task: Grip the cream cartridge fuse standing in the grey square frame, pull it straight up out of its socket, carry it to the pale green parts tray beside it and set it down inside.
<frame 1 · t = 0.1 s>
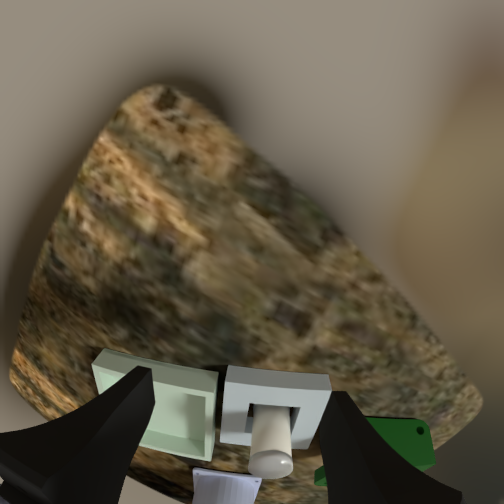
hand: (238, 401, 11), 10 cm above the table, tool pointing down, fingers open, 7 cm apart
parts tray: (161, 402, 24), on the table
grey square frame: (271, 404, 23), on the table
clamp: (367, 435, 25), on the table
fuse: (271, 434, 20), in the grey square frame
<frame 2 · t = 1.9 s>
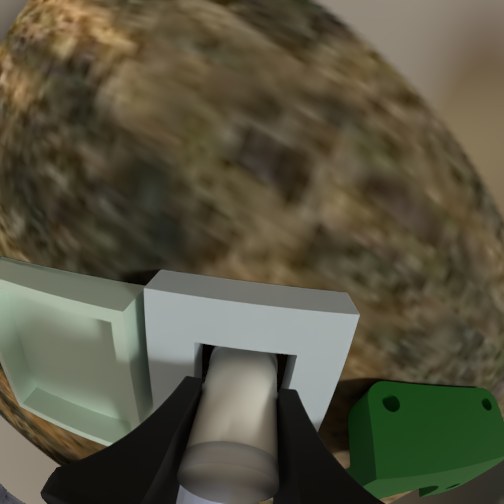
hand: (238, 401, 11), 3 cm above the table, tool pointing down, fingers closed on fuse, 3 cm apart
parts tray: (73, 351, 14), on the table
grey square frame: (244, 359, 13), on the table
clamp: (407, 419, 15), on the table
fuse: (237, 411, 10), in the grey square frame, touching gripper
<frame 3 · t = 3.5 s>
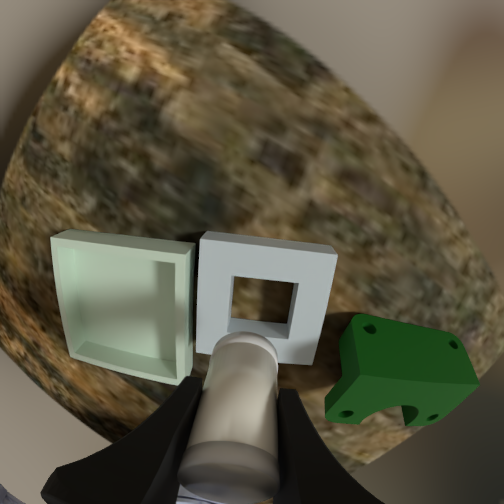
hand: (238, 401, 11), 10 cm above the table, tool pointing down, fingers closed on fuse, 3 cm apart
parts tray: (128, 301, 21), on the table
grey square frame: (262, 295, 20), on the table
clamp: (388, 356, 22), on the table
fuse: (237, 411, 10), point 10 cm above the table, touching gripper
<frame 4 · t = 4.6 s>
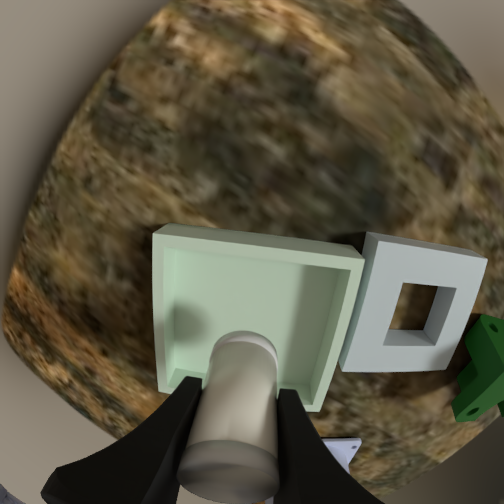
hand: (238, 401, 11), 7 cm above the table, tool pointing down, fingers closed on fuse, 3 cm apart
parts tray: (250, 317, 18), on the table
grey square frame: (408, 302, 17), on the table
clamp: (487, 354, 18), on the table
fuse: (237, 410, 10), point 8 cm above the table, touching gripper
when the fingers open (5 cm above the table, at t = 5.3 s): fuse drops 1 cm, resting on parts tray.
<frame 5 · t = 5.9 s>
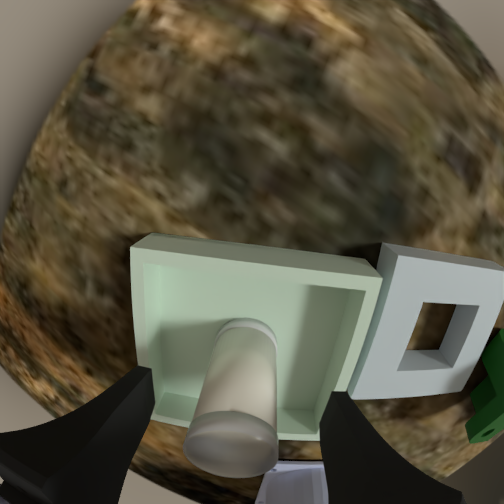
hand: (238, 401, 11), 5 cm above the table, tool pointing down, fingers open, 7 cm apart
parts tray: (246, 339, 15), on the table
grey square frame: (425, 320, 14), on the table
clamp: (502, 368, 16), on the table
fuse: (239, 389, 11), in the parts tray
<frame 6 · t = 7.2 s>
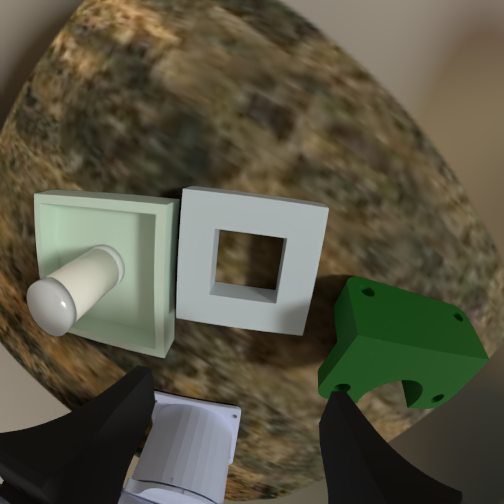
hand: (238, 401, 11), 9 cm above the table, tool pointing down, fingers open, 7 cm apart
parts tray: (109, 264, 20), on the table
grey square frame: (248, 256, 19), on the table
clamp: (388, 330, 20), on the table
fuse: (79, 284, 16), in the parts tray
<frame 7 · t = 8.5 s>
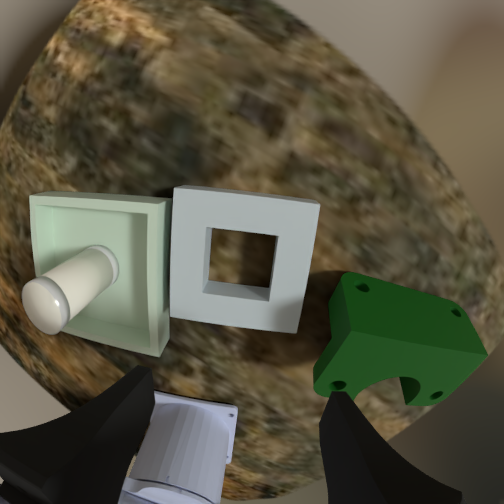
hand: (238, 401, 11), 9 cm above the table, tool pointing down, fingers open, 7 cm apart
parts tray: (104, 264, 20), on the table
grey square frame: (241, 255, 19), on the table
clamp: (384, 326, 20), on the table
fuse: (74, 284, 16), in the parts tray
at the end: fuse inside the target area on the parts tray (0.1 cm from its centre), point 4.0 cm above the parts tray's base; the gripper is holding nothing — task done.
